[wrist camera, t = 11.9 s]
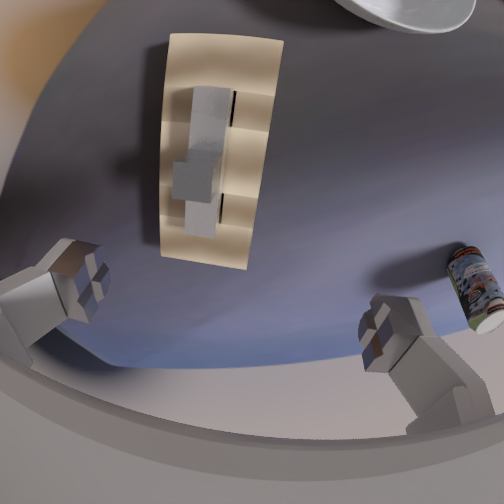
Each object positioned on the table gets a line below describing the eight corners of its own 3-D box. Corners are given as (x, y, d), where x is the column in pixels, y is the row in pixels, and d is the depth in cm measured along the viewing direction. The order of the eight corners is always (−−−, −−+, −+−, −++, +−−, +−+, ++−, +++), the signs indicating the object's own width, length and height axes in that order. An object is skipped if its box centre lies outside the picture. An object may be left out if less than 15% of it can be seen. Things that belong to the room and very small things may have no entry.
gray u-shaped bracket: (209, 84, 25) (178, 87, 17) (239, 87, 25) (222, 89, 17) (198, 208, 33) (172, 257, 24) (224, 211, 33) (206, 263, 24)
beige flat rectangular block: (182, 38, 22) (170, 33, 19) (282, 46, 22) (283, 41, 19) (169, 240, 35) (160, 255, 32) (248, 252, 36) (246, 269, 33)
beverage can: (480, 240, 31) (524, 293, 21) (466, 280, 35) (500, 336, 25) (448, 240, 32) (492, 299, 22) (435, 283, 36) (467, 344, 26)
